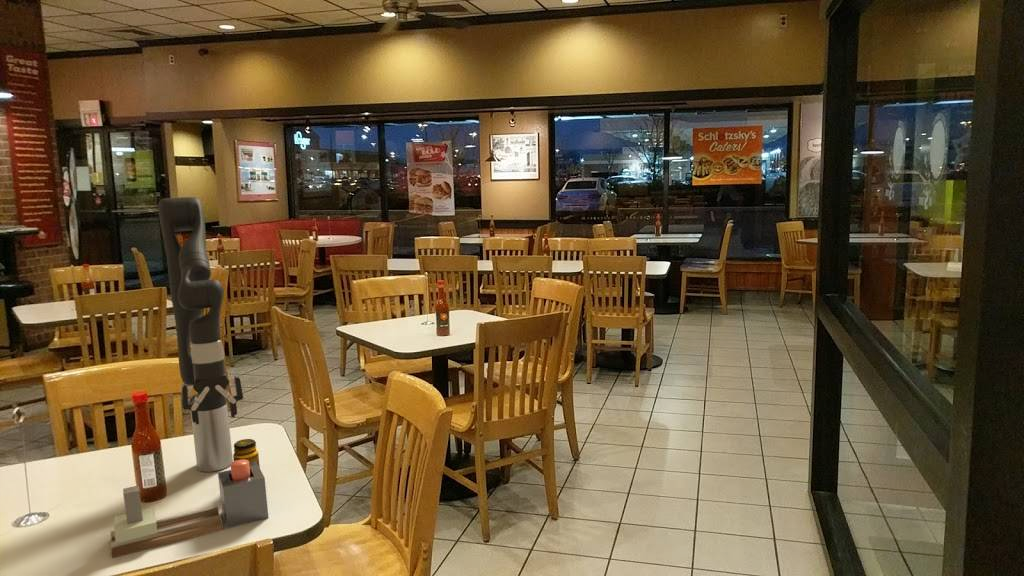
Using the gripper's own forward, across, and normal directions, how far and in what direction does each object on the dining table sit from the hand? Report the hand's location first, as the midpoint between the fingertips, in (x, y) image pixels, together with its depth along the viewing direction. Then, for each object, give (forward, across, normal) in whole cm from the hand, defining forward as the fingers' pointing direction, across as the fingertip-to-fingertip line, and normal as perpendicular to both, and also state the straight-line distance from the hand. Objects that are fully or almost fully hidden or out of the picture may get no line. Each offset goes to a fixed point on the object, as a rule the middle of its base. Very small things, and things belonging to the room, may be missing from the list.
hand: (215, 420), depth 182 cm
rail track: (+18, +14, +21) cm, 31 cm away
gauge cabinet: (+18, -2, +21) cm, 28 cm away
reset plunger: (+11, -2, +21) cm, 24 cm away
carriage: (+15, +20, +21) cm, 33 cm away
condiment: (+18, -5, +5) cm, 19 cm away
